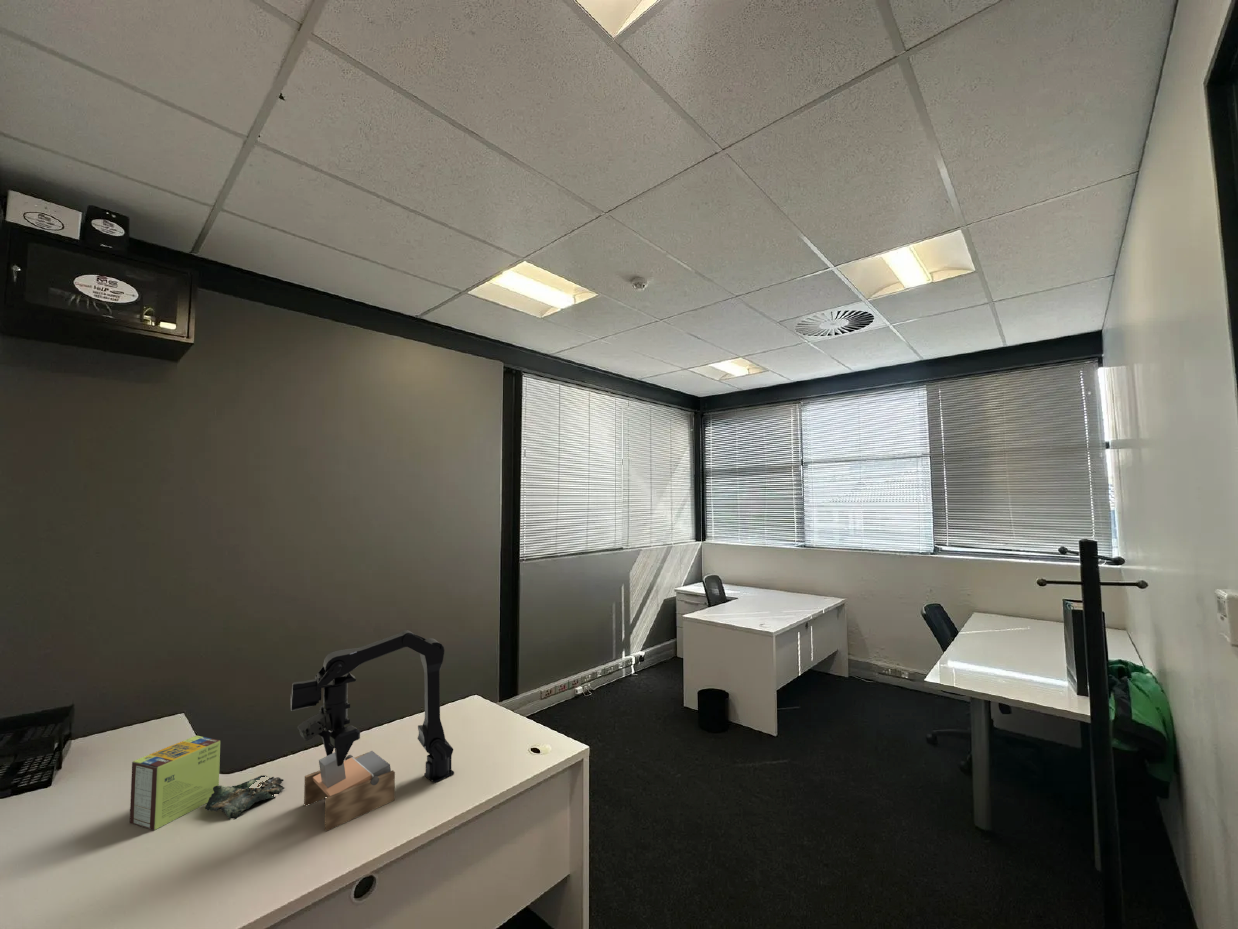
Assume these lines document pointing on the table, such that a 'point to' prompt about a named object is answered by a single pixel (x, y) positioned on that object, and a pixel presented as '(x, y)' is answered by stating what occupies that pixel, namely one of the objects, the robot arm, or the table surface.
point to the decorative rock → (242, 796)
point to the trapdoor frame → (351, 797)
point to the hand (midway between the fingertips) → (334, 760)
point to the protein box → (173, 781)
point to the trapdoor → (356, 772)
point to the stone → (331, 770)
